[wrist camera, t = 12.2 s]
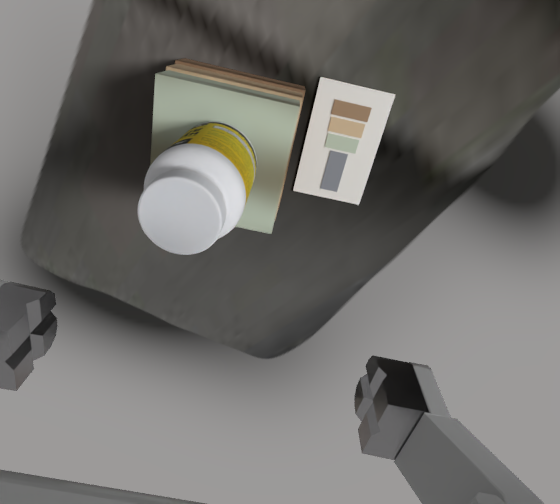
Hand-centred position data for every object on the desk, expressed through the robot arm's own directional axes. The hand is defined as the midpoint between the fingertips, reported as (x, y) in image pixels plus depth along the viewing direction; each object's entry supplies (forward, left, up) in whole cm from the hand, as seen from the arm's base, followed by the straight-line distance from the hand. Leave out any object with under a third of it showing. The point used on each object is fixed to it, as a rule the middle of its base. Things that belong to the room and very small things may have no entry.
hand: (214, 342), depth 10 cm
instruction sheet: (0, +6, -28) cm, 28 cm away
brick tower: (+1, -3, -28) cm, 28 cm away
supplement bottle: (+1, -3, -19) cm, 19 cm away
